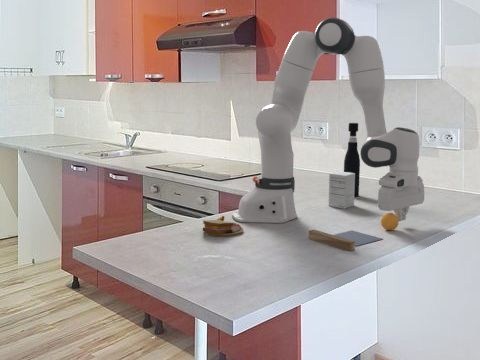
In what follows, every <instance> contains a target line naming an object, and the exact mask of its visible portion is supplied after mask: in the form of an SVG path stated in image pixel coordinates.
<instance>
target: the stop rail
mask: <svg viewBox="0 0 480 360" xmlns="http://www.w3.org/2000/svg"><path fill="white" fill-rule="evenodd" d="M308 239H309V240H312V241H316V242H318V243H322V244H324V245H328V246H331V247H334V248H338V249H341V250H345V251H347V252H353V251H355V247H356V246H355V241H352V240H349V239H345V238H342V237H338V236H335V235H334V234H330V233H328V232H324V231H320V230H317V229H310V230H308Z"/></svg>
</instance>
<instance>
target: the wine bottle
mask: <svg viewBox="0 0 480 360" xmlns="http://www.w3.org/2000/svg"><path fill="white" fill-rule="evenodd" d="M347 131H348V132H349V138H348V142H347V150H346V153H345V156H344V160H343V172H350V173H355V191H354V198H358V197H359V196H360V175H361V174H360V173H361V172H360V170H361V160H360V158H361V157H360V154H359V150H358V138H357V132H359V123H357V122H349V123H348V130H347Z"/></svg>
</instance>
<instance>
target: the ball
mask: <svg viewBox="0 0 480 360" xmlns="http://www.w3.org/2000/svg"><path fill="white" fill-rule="evenodd" d="M399 222H400V221H399V220H398V217H397V216H396V214H395V213H393V212H385V213H384V214H383V215H382V217H381V219H380V223H381V224H380V225H381V227H382V228H383V229H384V230H385V231H386V230H387V231H393V230H396V229H397V228H398V225H399Z"/></svg>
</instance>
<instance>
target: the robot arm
mask: <svg viewBox="0 0 480 360" xmlns="http://www.w3.org/2000/svg"><path fill="white" fill-rule="evenodd" d="M353 29H354V28H353V27H352V26H351V25H350V24H349V23H348V22H347V21H345V20H343V19H342V18H341V19H340V18H339V17H329V18H326V19H324V20H322V21H321V22H320V23H319V24H318V25H317V27H316V29H315V32H311V31H309V30H308V31H307V30H300V31H297V32H296V33H295V34H294V35H293V36H292V38H291V40H290V42H289V44H288V46H287V47H286V49H285V52H284V54H283V57H282V60H281V63H280V65H279V68H278V71H277V73H276V76H275V79H274V83H273V91H272V96H271V100H270V104H269V105H266V106H264V107H263V108H261V110H259V112H258V114H257V116H256V119H255V126H256V129H257V134H258V141H259V146H260V156H261V157H260V160H261V161H260V163H261V165H260V167H261V168H260V176H257V175H254V176H253V177H252V181H253V183H255V184H254V186H255V187H253V188H252V189H251V190H250V191H249V192H247V193H246V194H245V195H243V196H242V197H241V199H240V200H239V204H238V209H237V210H234V211H232V213H231V214H232V216H231V217H232V218H233V219H234V220H235V221H237V222H240V223H271V224H272V223H273V224H274V223H276V224H278V223H280V224H283V223H286V222H288V221H291V220H295V219H296V218H298V215H297V211H296V206H295V205H296V204H295V199H294V198H295V197H294V192H295V187H296V185H295V183H296V182H295V177H294V158H295V157H294V151H293V146H292V145H293V144H292V137H291V136H292V135H291V133H292V132H293V131H294V130H295V129H296V127H297V125H298V123H299V119H300V116H301V112H302V109H303V108H302V107H303V105H304V101H305V95H306V94H307V90H308V87H309V84H310V82H311V79H312V77H313V74H314V71H315V68H316V65H317V63H318V61H319V58H320V57H322V55H335V56H336V55H341V56H343V57H344V58H345V61H346V66H347V71H348V72H347V73H348V78H349V84H350V88H351V90H352V94H353V96H354V97H355V98H356V100H357V101H358V102H359V104H360V106H361V108H362V111H363V115H364V122H365V130H366V139H365V142H364V143H363V144H362V146H361V148H360V151H359V152H360V154H359V156H360V158H361V160H362V162H363V163H364V165H366V166H368V167H370V168H373V169H374V168H382V167H383V168H384V167H389V171H388V172H387V173H385V174H384V175H383V176H382V177H381V178H379V179H378V185H379V186H380V187H379V189H378V196H377V197H378V198H377V205H378V206H377V207H378V209H379V210H381V211H386V212H390V211H394V214H395V215H396V216H397V217H398V220H399V222H402V221H406V219H407V215H408V213H409V211H410V207H413V206H417V205H422V204H423V203H424V202H425V185H424V182H423V181H424V180H423V179H422V177H421V176H420V175H419V166H418V161H419V157H420V136H419V134H418V133H417V132H416V131H415V130H413V129H410V128H407V127H406V128H405V127H400V126H399V127H397V126H396V127H395V128H393V129H391V130H390V131H388V132H387V127H386V122H385V115H384V114H385V113H384V107H383V106H384V95H385V84H386V80H385V67H384V61H383V57H382V52H381V48H380V45H379V43H378V40H377V39H376V38H375V37H374V36H370V35H355V31H354V30H353Z"/></svg>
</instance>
